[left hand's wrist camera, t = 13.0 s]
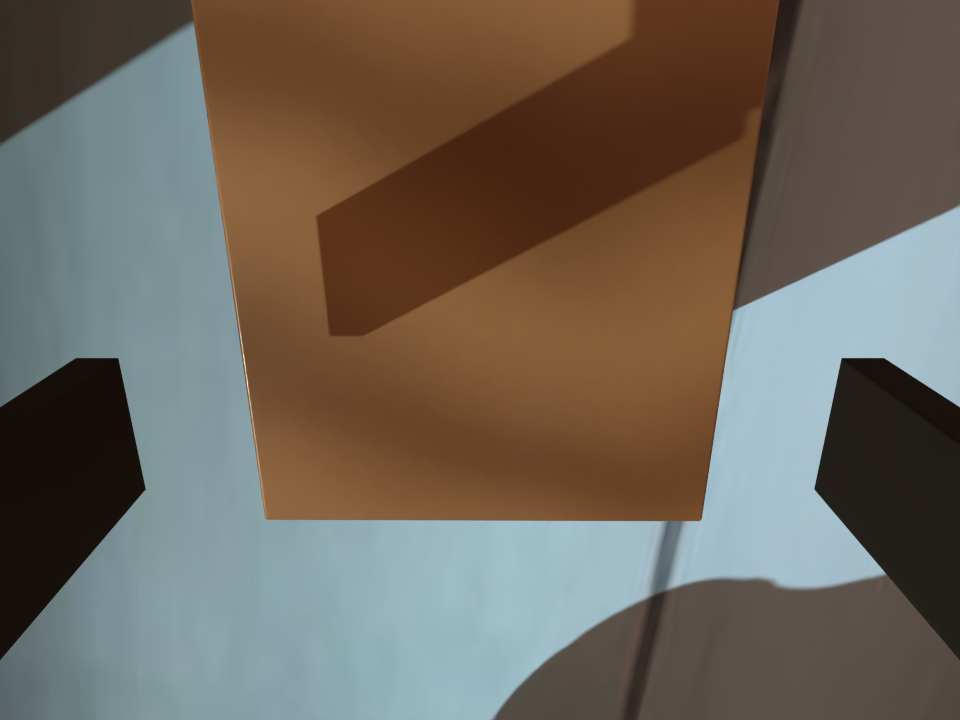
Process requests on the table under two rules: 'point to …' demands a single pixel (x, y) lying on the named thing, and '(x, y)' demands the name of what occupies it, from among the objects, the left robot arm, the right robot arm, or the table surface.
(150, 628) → the table surface
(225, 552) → the table surface
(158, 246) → the table surface
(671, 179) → the cabinet
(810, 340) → the table surface
